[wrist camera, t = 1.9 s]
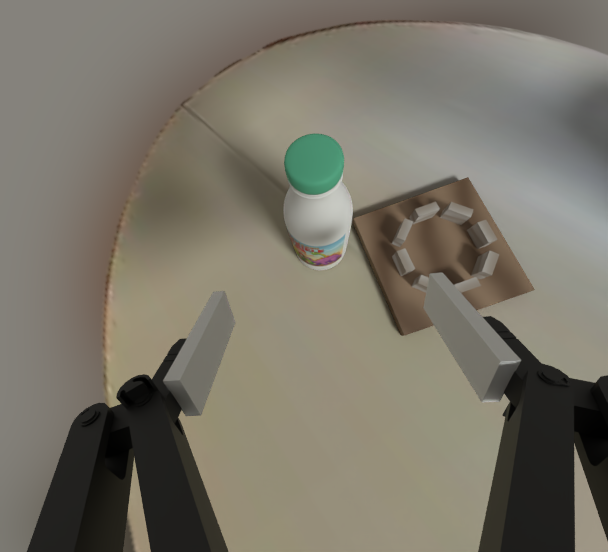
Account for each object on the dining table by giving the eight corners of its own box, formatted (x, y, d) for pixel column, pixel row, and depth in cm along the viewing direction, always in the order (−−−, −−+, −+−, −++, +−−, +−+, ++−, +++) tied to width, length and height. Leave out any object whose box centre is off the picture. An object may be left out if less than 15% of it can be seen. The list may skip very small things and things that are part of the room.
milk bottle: (307, 217, 39) (287, 103, 20) (353, 233, 38) (380, 128, 18) (287, 260, 38) (246, 184, 18) (334, 278, 36) (343, 217, 17)
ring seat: (462, 183, 38) (478, 166, 34) (525, 291, 34) (551, 286, 30) (352, 222, 38) (355, 210, 34) (401, 335, 34) (410, 335, 30)
